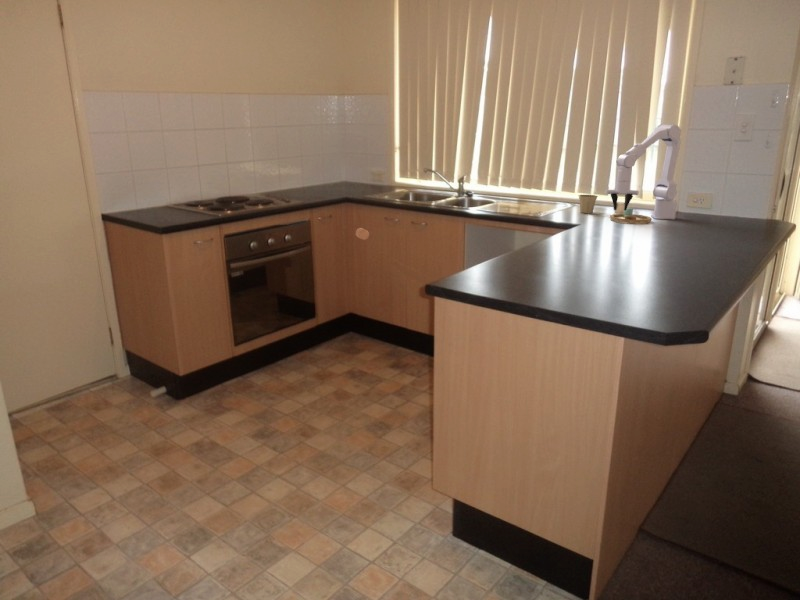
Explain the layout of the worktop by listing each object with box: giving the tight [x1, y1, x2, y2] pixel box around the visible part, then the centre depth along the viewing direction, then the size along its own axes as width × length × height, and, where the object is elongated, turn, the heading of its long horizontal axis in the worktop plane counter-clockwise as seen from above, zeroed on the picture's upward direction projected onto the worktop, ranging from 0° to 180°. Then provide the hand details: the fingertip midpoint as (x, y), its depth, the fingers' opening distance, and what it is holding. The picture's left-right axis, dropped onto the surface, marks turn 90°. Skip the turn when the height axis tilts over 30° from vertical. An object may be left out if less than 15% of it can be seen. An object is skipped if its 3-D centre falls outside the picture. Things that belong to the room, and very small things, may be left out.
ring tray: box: [609, 213, 653, 225], centre depth 285 cm, size 18×18×2 cm
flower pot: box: [578, 194, 599, 214], centre depth 306 cm, size 9×9×9 cm
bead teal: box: [623, 207, 634, 218], centre depth 289 cm, size 4×4×4 cm
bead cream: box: [614, 202, 625, 214], centre depth 284 cm, size 4×4×4 cm
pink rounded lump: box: [355, 227, 370, 241], centre depth 238 cm, size 4×4×4 cm
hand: (619, 209), depth 284 cm, fingers closed on bead cream, 4 cm apart
